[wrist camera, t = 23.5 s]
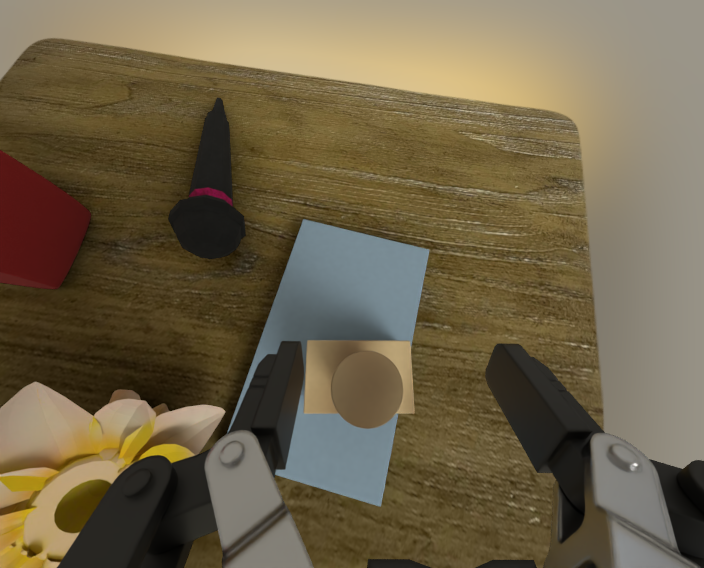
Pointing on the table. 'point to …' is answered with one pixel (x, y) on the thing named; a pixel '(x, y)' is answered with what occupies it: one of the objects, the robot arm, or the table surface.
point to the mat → (342, 324)
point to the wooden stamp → (359, 380)
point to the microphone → (210, 196)
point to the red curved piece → (37, 227)
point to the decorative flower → (77, 463)
